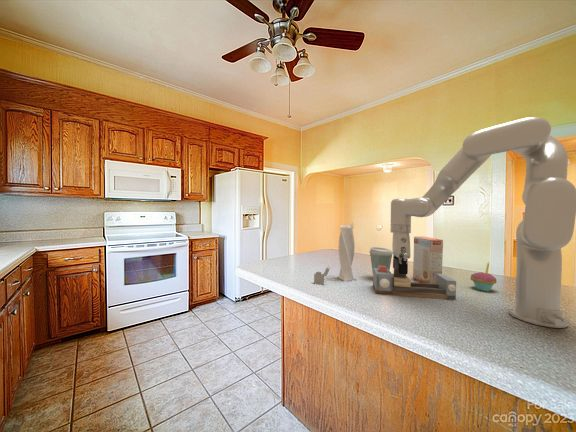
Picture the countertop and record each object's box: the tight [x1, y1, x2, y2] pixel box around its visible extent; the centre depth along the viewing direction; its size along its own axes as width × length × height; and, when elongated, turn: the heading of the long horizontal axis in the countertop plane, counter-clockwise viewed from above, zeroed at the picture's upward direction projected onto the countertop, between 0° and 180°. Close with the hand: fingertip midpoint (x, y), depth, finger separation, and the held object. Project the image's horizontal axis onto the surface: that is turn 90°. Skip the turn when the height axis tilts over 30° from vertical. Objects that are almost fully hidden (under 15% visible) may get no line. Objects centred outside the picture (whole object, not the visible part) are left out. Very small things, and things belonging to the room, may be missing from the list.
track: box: [372, 282, 457, 301], centre depth 96 cm, size 10×28×3 cm, turn 78°
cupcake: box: [470, 261, 497, 292], centre depth 100 cm, size 9×8×12 cm
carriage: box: [392, 258, 412, 287], centre depth 97 cm, size 8×6×10 cm
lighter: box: [313, 266, 331, 286], centre depth 107 cm, size 7×2×8 cm, turn 67°
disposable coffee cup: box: [369, 246, 394, 272], centre depth 115 cm, size 11×11×15 cm
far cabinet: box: [372, 268, 394, 296], centre depth 98 cm, size 11×6×8 cm, turn 168°
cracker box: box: [412, 236, 444, 284], centre depth 109 cm, size 14×6×21 cm, turn 179°
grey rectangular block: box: [436, 273, 457, 301], centre depth 93 cm, size 11×3×7 cm, turn 168°
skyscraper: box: [336, 222, 358, 282], centre depth 114 cm, size 8×8×28 cm
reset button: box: [378, 265, 387, 272], centre depth 99 cm, size 3×3×4 cm
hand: (399, 270), depth 97 cm, fingers open, 9 cm apart
